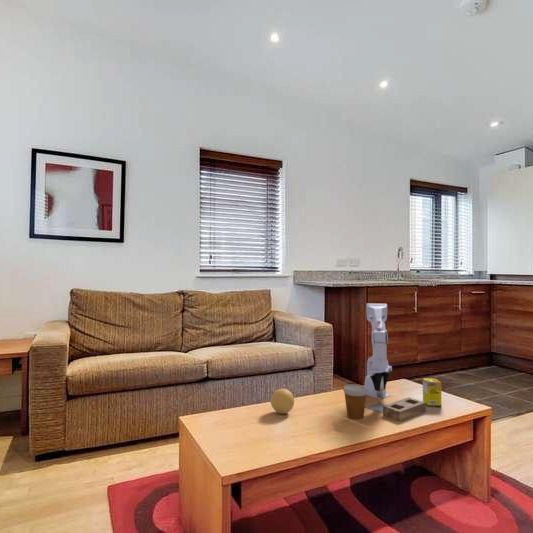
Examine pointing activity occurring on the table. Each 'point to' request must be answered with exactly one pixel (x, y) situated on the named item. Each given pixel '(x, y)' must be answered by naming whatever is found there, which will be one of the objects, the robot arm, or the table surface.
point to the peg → (381, 389)
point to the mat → (376, 407)
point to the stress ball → (282, 401)
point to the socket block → (404, 409)
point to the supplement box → (432, 392)
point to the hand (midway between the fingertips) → (379, 389)
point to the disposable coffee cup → (355, 400)
